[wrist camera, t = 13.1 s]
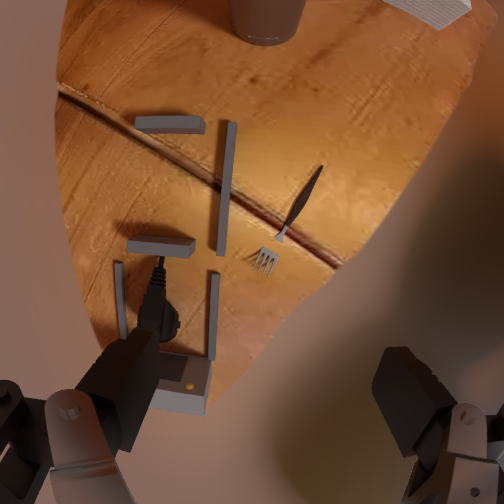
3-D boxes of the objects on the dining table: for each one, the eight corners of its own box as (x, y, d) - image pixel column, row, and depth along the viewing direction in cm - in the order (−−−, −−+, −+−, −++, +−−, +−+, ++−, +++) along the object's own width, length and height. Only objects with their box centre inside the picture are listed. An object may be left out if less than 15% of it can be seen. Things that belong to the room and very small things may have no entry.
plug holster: (147, 122, 33) (135, 116, 29) (237, 124, 33) (235, 117, 29) (138, 245, 36) (126, 252, 33) (225, 253, 37) (222, 261, 33)
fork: (330, 171, 35) (334, 170, 33) (267, 274, 38) (268, 279, 36) (313, 160, 34) (317, 159, 32) (250, 265, 37) (250, 269, 35)
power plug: (182, 249, 36) (169, 343, 31) (191, 268, 43) (181, 346, 38) (142, 245, 36) (126, 335, 31) (156, 264, 43) (145, 341, 38)
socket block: (117, 261, 37) (85, 282, 28) (220, 273, 37) (210, 299, 29) (126, 363, 41) (105, 396, 32) (214, 377, 41) (207, 417, 33)
